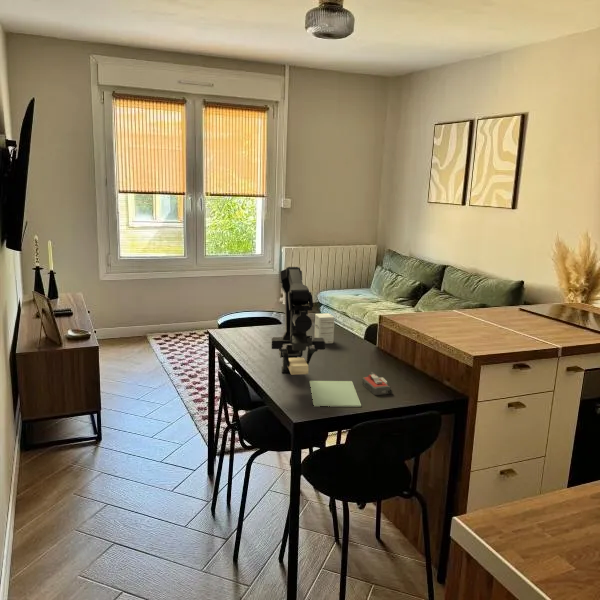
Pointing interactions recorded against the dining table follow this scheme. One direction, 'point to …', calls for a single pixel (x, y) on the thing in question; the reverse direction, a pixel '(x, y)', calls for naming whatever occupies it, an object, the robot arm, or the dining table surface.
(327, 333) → the supplement box
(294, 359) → the brass block
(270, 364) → the dining table surface
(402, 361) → the dining table surface
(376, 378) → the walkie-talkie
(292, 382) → the dining table surface
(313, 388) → the rubber mat
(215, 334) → the dining table surface
